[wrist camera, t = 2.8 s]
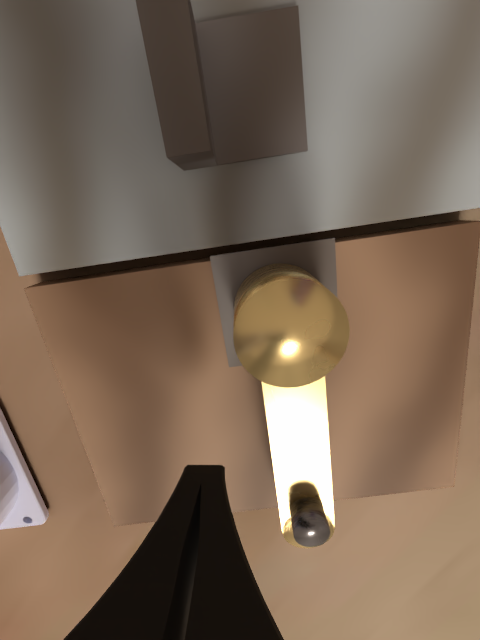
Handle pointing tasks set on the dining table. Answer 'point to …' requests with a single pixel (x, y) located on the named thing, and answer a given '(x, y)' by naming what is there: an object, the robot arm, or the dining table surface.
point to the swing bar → (294, 387)
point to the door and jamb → (244, 224)
